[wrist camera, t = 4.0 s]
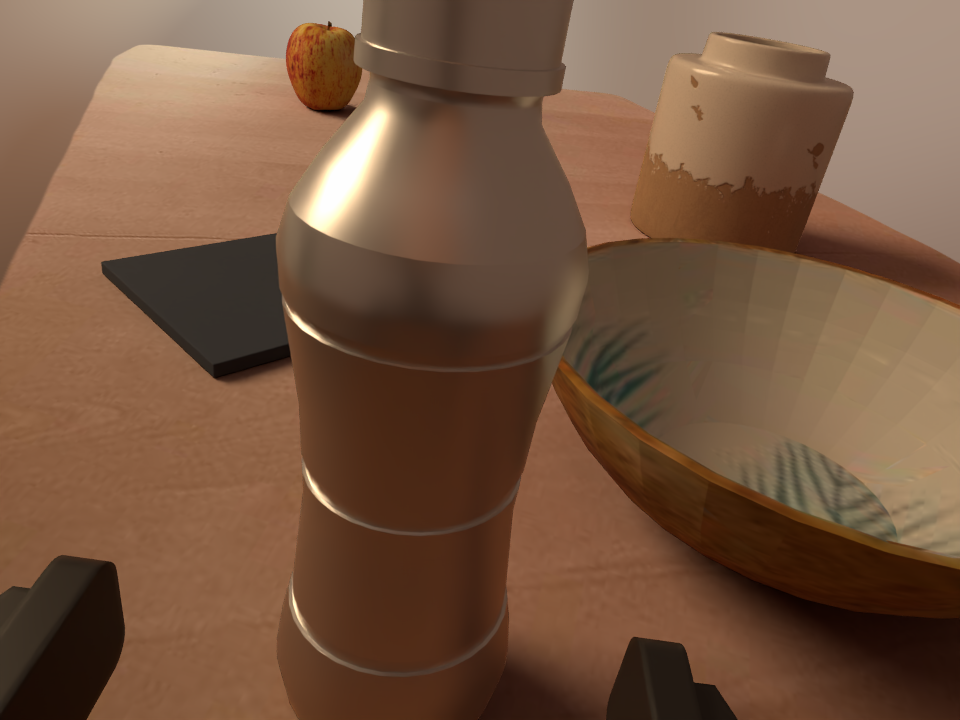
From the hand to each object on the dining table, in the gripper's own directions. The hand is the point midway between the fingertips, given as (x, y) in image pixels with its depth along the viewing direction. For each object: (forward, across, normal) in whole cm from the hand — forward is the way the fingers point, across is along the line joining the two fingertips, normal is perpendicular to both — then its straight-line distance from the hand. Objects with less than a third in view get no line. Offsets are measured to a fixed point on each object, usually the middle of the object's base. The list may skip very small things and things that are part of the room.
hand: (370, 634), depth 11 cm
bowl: (+19, -16, +11) cm, 27 cm away
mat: (+33, +11, +11) cm, 37 cm away
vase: (+59, -22, +11) cm, 64 cm away
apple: (+86, +21, +11) cm, 89 cm away
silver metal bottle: (+7, 0, +11) cm, 13 cm away
